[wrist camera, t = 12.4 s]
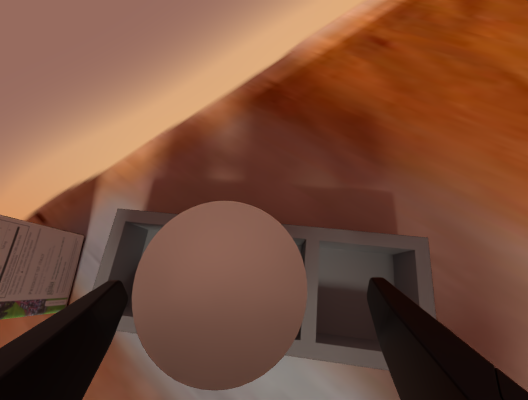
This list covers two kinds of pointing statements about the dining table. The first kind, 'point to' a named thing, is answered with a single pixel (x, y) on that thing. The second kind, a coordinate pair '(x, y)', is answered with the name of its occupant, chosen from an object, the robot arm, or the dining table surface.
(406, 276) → the caddy
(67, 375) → the robot arm
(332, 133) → the dining table surface
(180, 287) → the beige tapered cylinder
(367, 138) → the dining table surface
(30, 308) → the syrup box
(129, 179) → the dining table surface
